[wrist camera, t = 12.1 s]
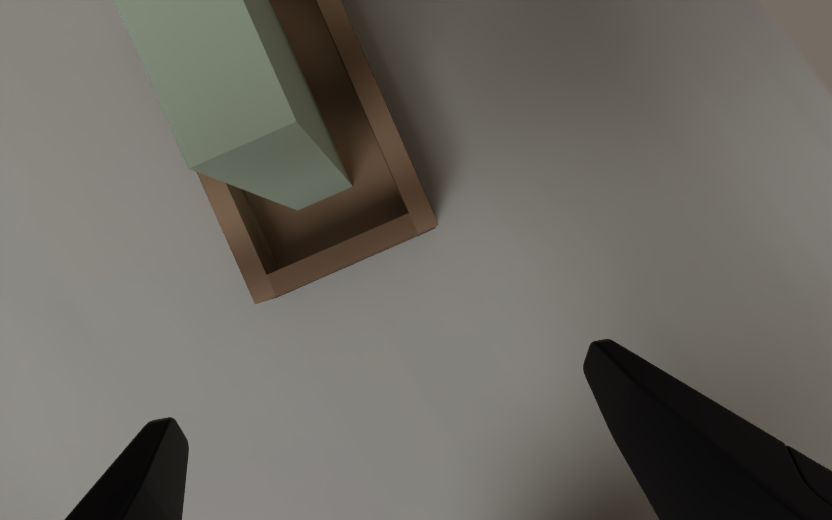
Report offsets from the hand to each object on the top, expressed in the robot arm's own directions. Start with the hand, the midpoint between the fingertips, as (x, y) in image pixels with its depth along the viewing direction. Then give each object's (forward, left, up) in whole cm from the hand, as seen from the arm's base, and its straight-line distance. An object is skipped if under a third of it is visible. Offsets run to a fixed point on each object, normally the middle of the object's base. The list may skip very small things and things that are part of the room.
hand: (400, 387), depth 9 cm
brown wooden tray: (+8, +8, -13) cm, 17 cm away
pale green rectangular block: (+8, +8, -12) cm, 16 cm away
